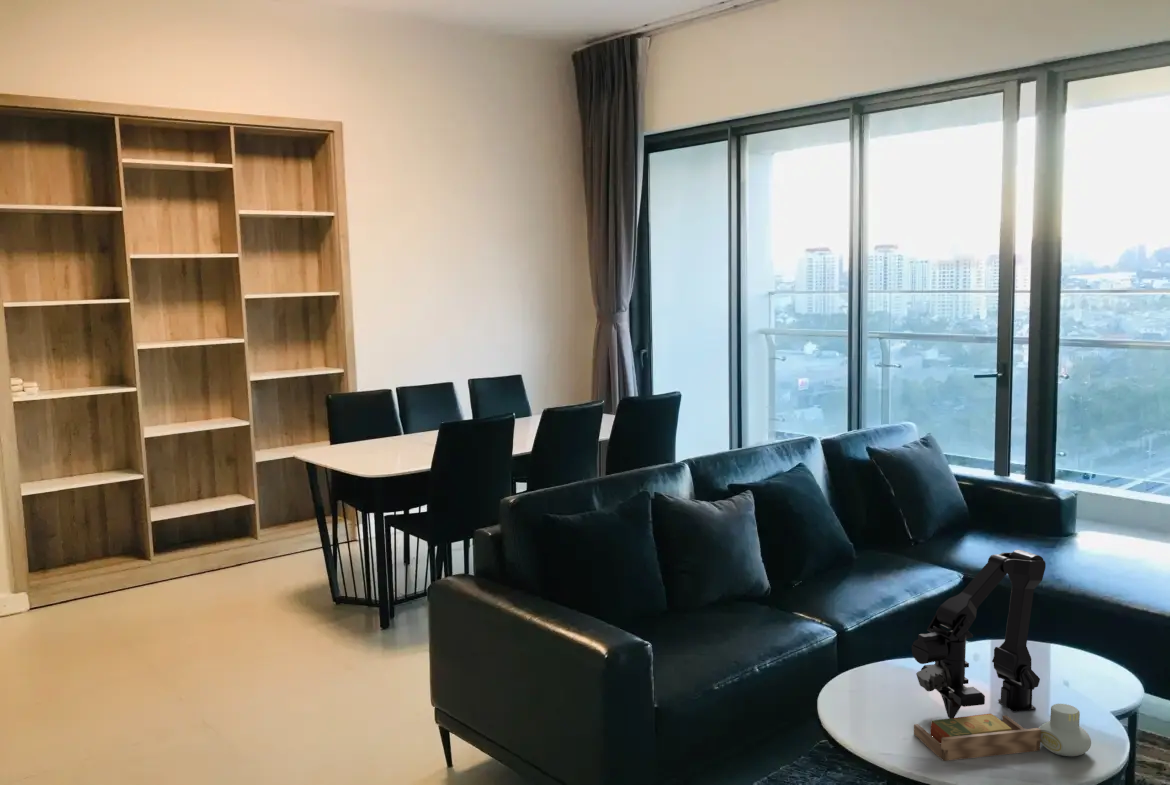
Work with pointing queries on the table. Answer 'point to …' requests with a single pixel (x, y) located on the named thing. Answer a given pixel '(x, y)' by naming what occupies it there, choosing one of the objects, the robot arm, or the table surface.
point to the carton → (967, 726)
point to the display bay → (983, 742)
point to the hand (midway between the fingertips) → (950, 718)
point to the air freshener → (1065, 732)
